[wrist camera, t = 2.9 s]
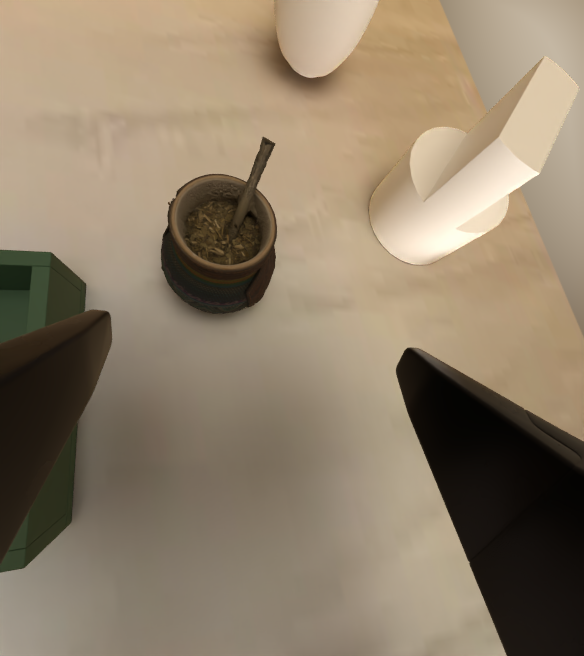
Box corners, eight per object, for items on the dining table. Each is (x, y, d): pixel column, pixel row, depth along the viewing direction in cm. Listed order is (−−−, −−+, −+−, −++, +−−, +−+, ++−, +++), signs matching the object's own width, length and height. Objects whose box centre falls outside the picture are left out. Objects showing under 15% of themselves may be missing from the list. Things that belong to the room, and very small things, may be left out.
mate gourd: (149, 301, 22) (104, 231, 12) (191, 212, 24) (181, 93, 14) (247, 337, 23) (275, 299, 14) (278, 250, 25) (322, 164, 16)
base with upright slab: (428, 284, 28) (578, 211, 17) (351, 222, 27) (454, 102, 16) (465, 217, 31) (614, 117, 20) (396, 159, 30) (510, 19, 19)
